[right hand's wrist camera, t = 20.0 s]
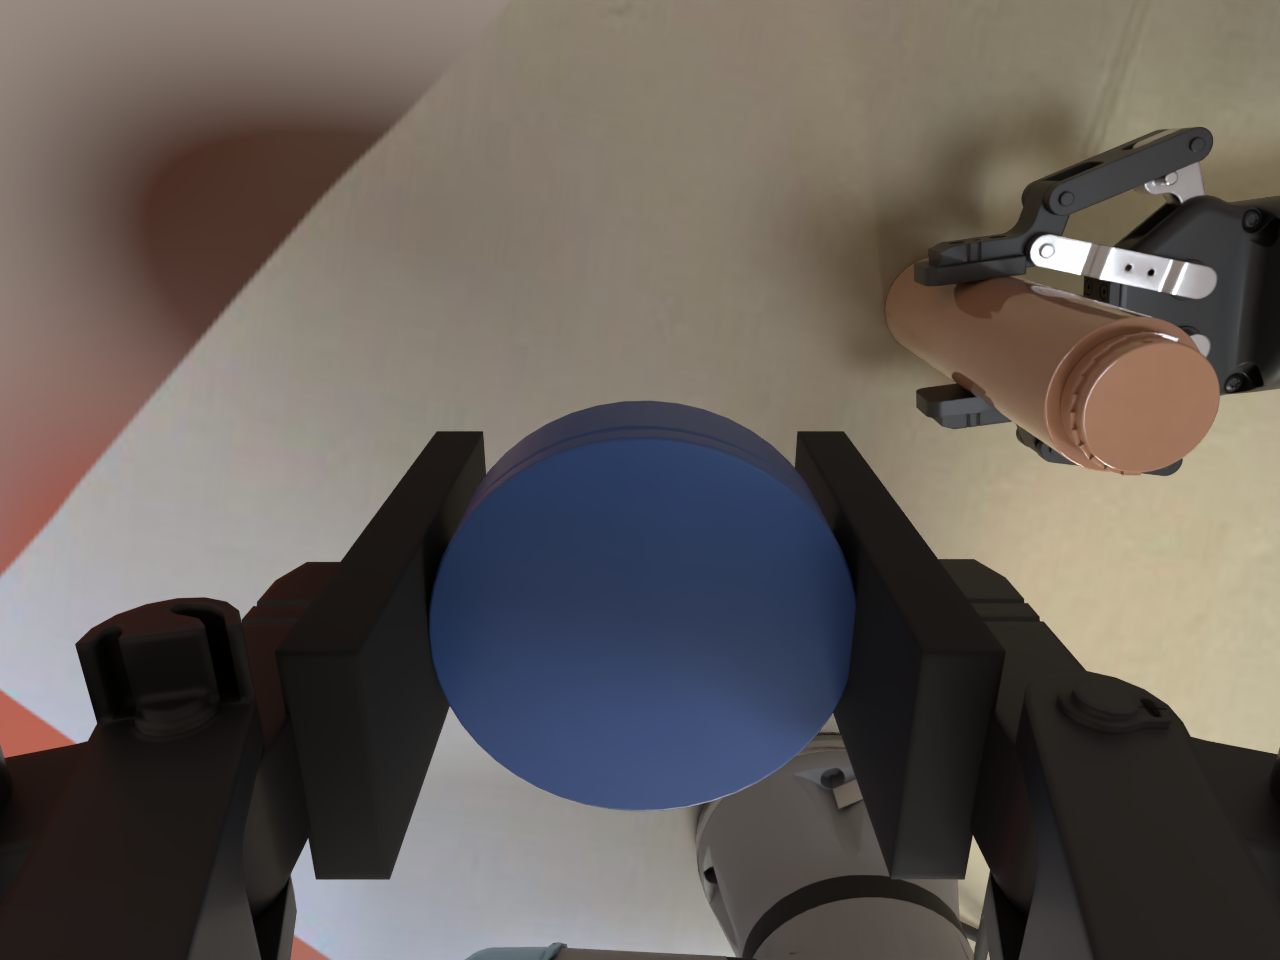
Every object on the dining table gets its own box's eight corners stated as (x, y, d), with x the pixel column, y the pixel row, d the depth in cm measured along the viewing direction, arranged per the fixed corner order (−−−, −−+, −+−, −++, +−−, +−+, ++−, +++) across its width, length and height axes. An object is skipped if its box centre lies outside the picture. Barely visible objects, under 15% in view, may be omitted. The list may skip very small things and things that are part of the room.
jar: (891, 254, 39) (1084, 322, 22) (990, 257, 40) (1258, 327, 22) (878, 352, 41) (1050, 485, 24) (973, 354, 41) (1212, 490, 24)
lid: (784, 757, 13) (802, 836, 11) (439, 709, 12) (412, 784, 11) (875, 433, 11) (912, 477, 9) (473, 368, 11) (445, 402, 9)
